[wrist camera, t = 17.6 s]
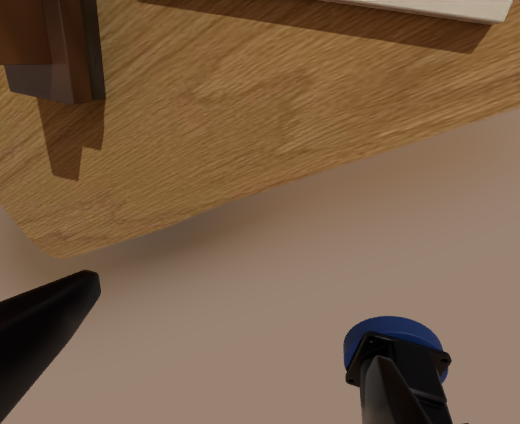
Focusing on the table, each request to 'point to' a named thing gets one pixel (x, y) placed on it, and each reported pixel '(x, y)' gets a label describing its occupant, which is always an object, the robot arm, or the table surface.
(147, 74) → the table surface
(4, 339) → the robot arm
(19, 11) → the brown stepped block
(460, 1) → the tile
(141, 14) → the table surface
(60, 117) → the table surface
